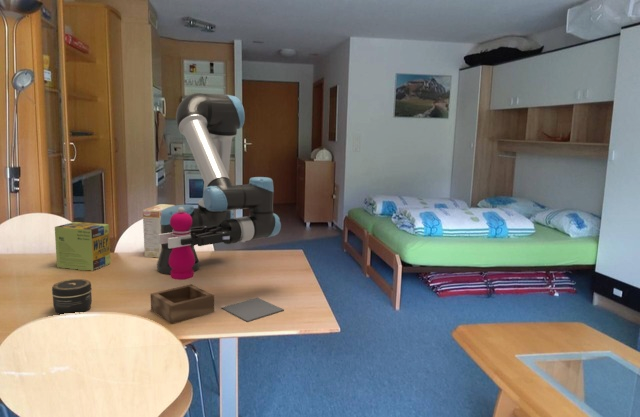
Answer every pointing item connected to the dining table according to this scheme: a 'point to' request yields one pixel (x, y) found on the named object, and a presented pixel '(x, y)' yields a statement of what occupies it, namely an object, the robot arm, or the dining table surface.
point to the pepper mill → (181, 256)
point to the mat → (252, 309)
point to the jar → (72, 296)
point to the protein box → (82, 245)
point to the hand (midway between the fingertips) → (163, 241)
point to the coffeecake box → (152, 229)
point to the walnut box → (182, 303)
